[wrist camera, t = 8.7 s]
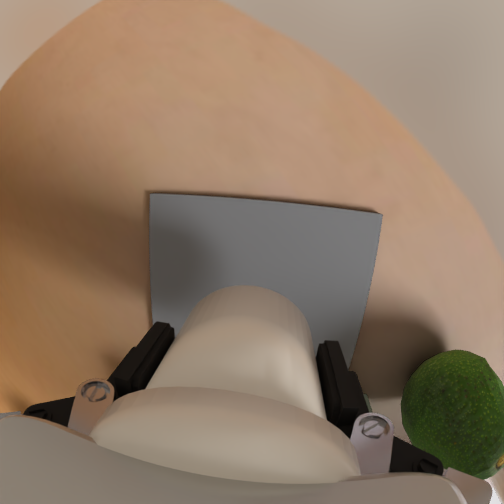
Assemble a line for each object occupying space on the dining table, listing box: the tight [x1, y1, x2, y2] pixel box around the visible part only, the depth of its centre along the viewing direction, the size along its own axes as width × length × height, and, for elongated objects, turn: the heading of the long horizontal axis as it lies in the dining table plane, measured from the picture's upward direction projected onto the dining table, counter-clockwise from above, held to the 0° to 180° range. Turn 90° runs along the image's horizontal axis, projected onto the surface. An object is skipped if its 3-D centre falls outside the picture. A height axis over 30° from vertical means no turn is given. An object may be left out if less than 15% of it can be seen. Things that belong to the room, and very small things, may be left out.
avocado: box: [401, 350, 504, 480], centre depth 13 cm, size 8×8×12 cm
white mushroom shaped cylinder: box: [89, 285, 361, 484], centre depth 8 cm, size 7×7×9 cm
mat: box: [149, 193, 383, 370], centre depth 18 cm, size 14×12×1 cm
